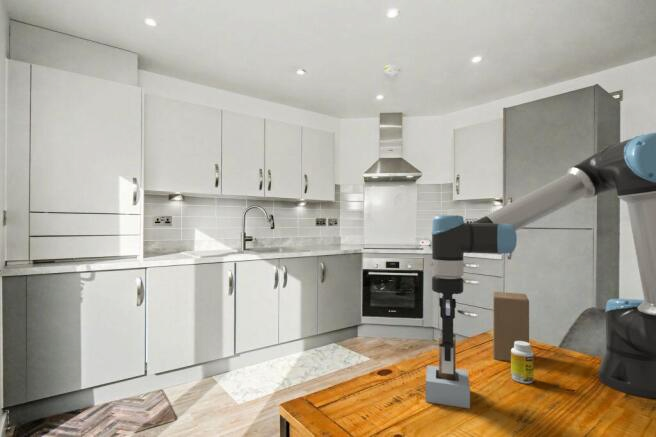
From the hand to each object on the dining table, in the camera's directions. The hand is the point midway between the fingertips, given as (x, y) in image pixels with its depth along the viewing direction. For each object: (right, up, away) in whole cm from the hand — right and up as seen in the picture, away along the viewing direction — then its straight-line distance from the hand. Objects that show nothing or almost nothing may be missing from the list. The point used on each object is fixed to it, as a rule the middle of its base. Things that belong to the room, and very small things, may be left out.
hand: (447, 368), depth 89 cm
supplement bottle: (+24, -7, +9) cm, 27 cm away
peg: (0, -6, 0) cm, 6 cm away
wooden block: (+29, -7, +26) cm, 40 cm away
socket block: (0, -7, 0) cm, 7 cm away
